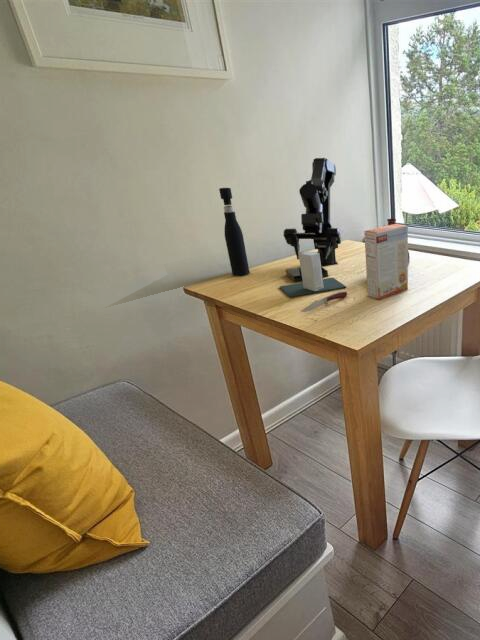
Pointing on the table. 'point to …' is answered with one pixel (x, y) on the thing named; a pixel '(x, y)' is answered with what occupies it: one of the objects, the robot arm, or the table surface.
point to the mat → (299, 290)
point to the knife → (325, 301)
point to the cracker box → (386, 260)
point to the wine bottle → (234, 237)
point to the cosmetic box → (311, 270)
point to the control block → (297, 276)
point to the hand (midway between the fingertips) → (311, 258)
